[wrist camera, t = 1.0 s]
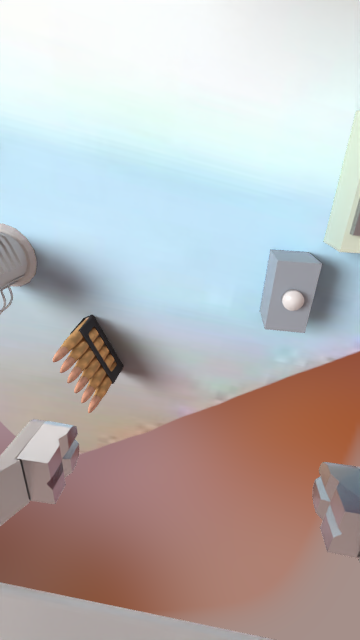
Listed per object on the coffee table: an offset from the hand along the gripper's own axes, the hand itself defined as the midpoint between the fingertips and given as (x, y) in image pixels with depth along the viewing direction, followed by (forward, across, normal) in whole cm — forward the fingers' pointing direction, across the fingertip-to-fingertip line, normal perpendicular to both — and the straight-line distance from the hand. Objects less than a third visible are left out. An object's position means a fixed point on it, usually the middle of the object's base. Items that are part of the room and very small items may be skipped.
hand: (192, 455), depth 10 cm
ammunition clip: (+35, +17, +17) cm, 42 cm away
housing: (+34, -10, +3) cm, 36 cm away
